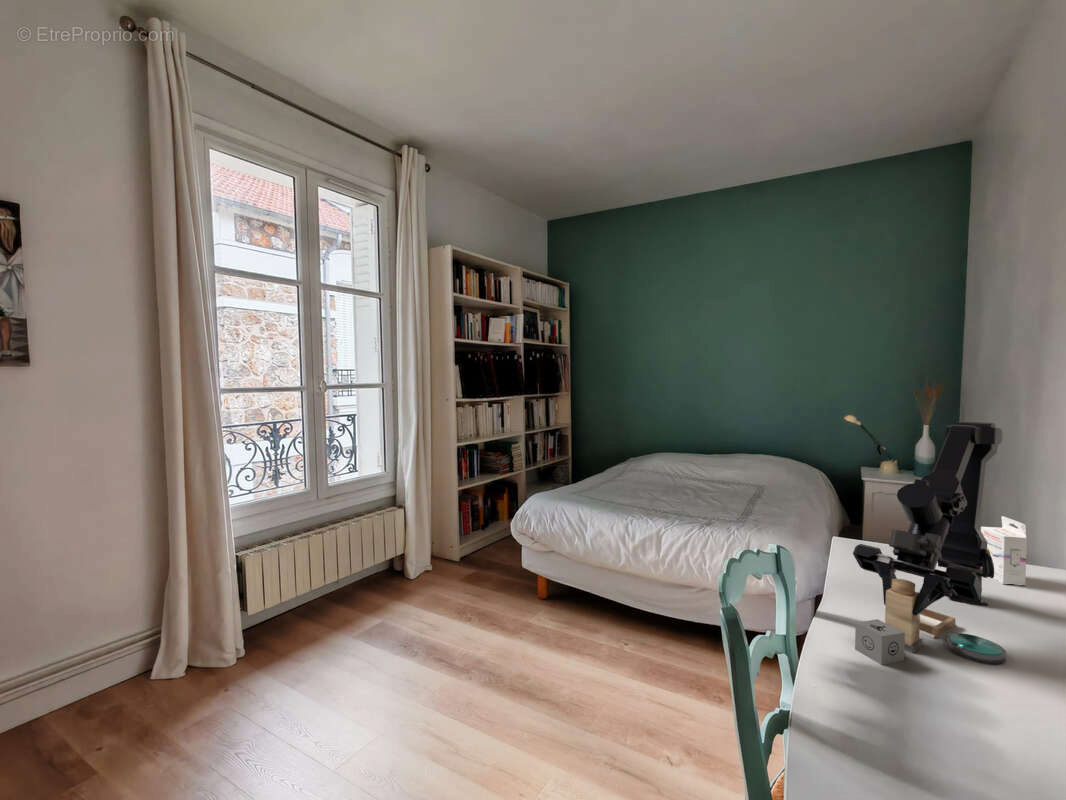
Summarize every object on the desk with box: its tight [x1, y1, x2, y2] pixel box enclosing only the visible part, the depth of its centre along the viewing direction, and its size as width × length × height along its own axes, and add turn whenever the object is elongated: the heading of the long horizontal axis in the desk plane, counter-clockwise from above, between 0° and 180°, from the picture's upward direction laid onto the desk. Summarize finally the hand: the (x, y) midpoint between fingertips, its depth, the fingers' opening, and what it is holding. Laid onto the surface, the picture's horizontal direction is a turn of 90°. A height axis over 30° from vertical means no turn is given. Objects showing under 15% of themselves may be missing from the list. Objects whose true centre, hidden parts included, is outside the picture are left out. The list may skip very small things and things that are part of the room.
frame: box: [919, 608, 956, 639], centre depth 98 cm, size 10×9×2 cm
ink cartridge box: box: [980, 515, 1028, 586], centre depth 121 cm, size 9×5×15 cm, turn 168°
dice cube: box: [854, 618, 905, 666], centre depth 87 cm, size 5×5×5 cm
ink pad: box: [945, 632, 1007, 666], centre depth 88 cm, size 8×8×2 cm
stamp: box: [884, 578, 923, 654], centre depth 91 cm, size 5×5×11 cm
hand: (899, 609), depth 90 cm, fingers closed on stamp, 4 cm apart
